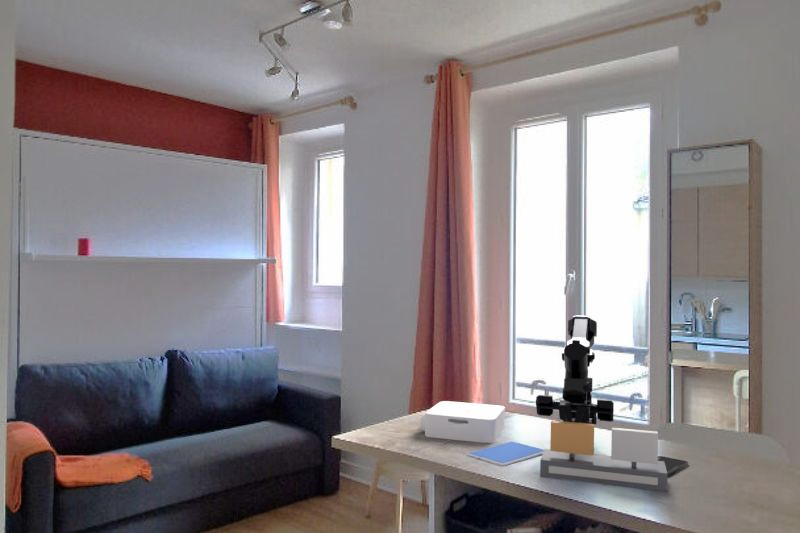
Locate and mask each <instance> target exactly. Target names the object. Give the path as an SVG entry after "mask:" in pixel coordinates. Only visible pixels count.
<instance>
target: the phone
mask: <svg viewBox="0 0 800 533" xmlns="http://www.w3.org/2000/svg"><path fill="white" fill-rule="evenodd" d="M658 461H664V463H665V466H666V470H667V478H670V477H672V476H673V475H675V474H677V473H678V472H680V471H682V470H684V469H685V468H687V467H688V466H689V462H688V461H687V460H684V459H683V460H682V459H678V458H673V457H667V456H662V455H658Z"/></svg>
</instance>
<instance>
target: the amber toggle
mask: <svg viewBox="0 0 800 533" xmlns="http://www.w3.org/2000/svg"><path fill="white" fill-rule="evenodd" d="M549 447H550V448H549V450H550V451H554V452H563V453H570V457H571V458H574V454H583V455H592V456H594V454H595V424H586V423H575V422H564V421H563V420H553V419H552V420H551V421H550V446H549Z"/></svg>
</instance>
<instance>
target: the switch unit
mask: <svg viewBox="0 0 800 533" xmlns="http://www.w3.org/2000/svg"><path fill="white" fill-rule="evenodd" d="M543 450H544V452H543V454H542V455H541V457H540V460H539V462H540V463H539V464H540V465H539V466H540V467H539V472H540V473H539V477H541V478H550V479H557V480H559V479H560V480H565V481H567V480H568V481H576V482H584V483H593V484H599V485H600V484H602V485H609V486H618V487H627V488H635V489H643V490H644V489H645V490H653V491H661V492H668V477H667V470H666V466H665V463H664V461H658V464H649V463H639V462H636V466H632V462H630V461H620V460H611V455H607V454H605V455H604V454H596V453H594V456H592V455H583V454H574V458H571V457H570V453H563V452H554V451H550V448H549V449H547V448H544V449H543Z"/></svg>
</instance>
